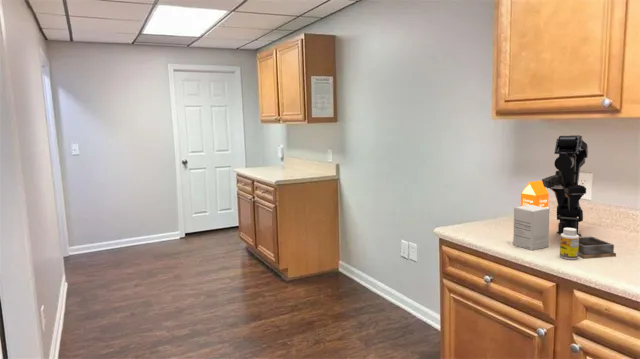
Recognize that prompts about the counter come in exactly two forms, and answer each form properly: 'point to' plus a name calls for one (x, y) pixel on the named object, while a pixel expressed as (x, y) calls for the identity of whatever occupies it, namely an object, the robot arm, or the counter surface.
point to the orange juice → (535, 195)
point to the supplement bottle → (569, 244)
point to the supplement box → (531, 227)
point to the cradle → (594, 248)
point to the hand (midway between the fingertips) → (565, 208)
